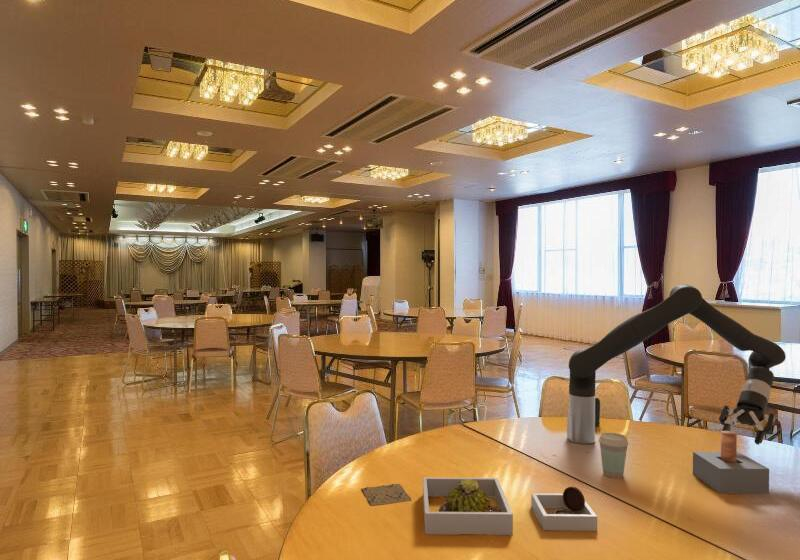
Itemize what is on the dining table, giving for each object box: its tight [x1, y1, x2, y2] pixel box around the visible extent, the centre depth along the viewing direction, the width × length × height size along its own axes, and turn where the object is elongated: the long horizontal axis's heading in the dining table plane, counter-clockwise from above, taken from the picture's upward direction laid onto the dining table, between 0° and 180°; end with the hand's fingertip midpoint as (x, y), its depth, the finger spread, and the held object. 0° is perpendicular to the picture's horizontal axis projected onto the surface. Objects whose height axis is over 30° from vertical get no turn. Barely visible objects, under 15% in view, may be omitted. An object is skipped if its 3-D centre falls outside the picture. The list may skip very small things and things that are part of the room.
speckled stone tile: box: [360, 483, 413, 507], centre depth 148 cm, size 12×12×1 cm
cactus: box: [438, 477, 501, 512], centre depth 135 cm, size 17×16×10 cm
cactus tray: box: [422, 476, 514, 536], centre depth 137 cm, size 21×22×5 cm
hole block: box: [692, 451, 770, 494], centre depth 156 cm, size 14×14×7 cm
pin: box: [720, 430, 738, 463], centre depth 156 cm, size 4×4×14 cm
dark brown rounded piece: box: [551, 486, 586, 514], centre depth 134 cm, size 8×8×7 cm
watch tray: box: [530, 492, 598, 532], centre depth 134 cm, size 13×13×4 cm
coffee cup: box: [598, 432, 629, 479], centre depth 163 cm, size 8×9×12 cm
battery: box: [595, 396, 601, 426], centre depth 216 cm, size 7×4×11 cm, turn 106°
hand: (740, 439), depth 161 cm, fingers open, 8 cm apart
